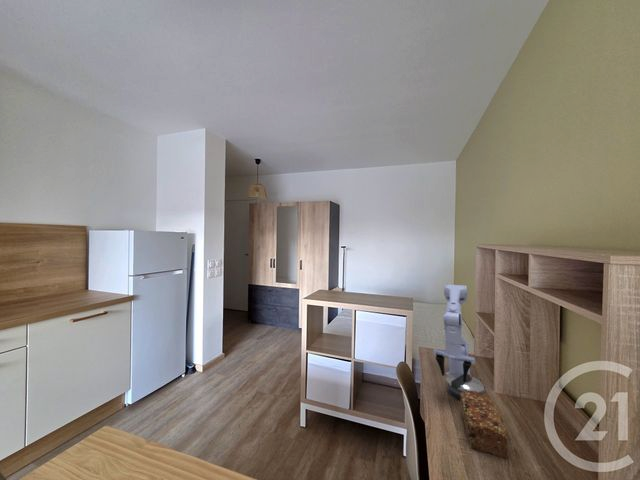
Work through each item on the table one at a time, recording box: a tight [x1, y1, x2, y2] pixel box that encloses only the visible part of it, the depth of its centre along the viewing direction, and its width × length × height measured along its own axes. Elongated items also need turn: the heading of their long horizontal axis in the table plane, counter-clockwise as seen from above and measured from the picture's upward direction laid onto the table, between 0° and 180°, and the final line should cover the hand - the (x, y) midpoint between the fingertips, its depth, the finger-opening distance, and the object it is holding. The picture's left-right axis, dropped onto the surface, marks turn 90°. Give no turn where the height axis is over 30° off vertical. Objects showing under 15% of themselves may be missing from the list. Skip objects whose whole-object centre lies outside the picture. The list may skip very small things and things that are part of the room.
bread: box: [460, 390, 509, 458], centre depth 83 cm, size 19×11×10 cm, turn 157°
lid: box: [445, 373, 485, 393], centre depth 105 cm, size 16×14×3 cm
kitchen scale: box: [446, 382, 484, 401], centre depth 103 cm, size 18×14×4 cm
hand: (453, 377), depth 98 cm, fingers open, 7 cm apart
